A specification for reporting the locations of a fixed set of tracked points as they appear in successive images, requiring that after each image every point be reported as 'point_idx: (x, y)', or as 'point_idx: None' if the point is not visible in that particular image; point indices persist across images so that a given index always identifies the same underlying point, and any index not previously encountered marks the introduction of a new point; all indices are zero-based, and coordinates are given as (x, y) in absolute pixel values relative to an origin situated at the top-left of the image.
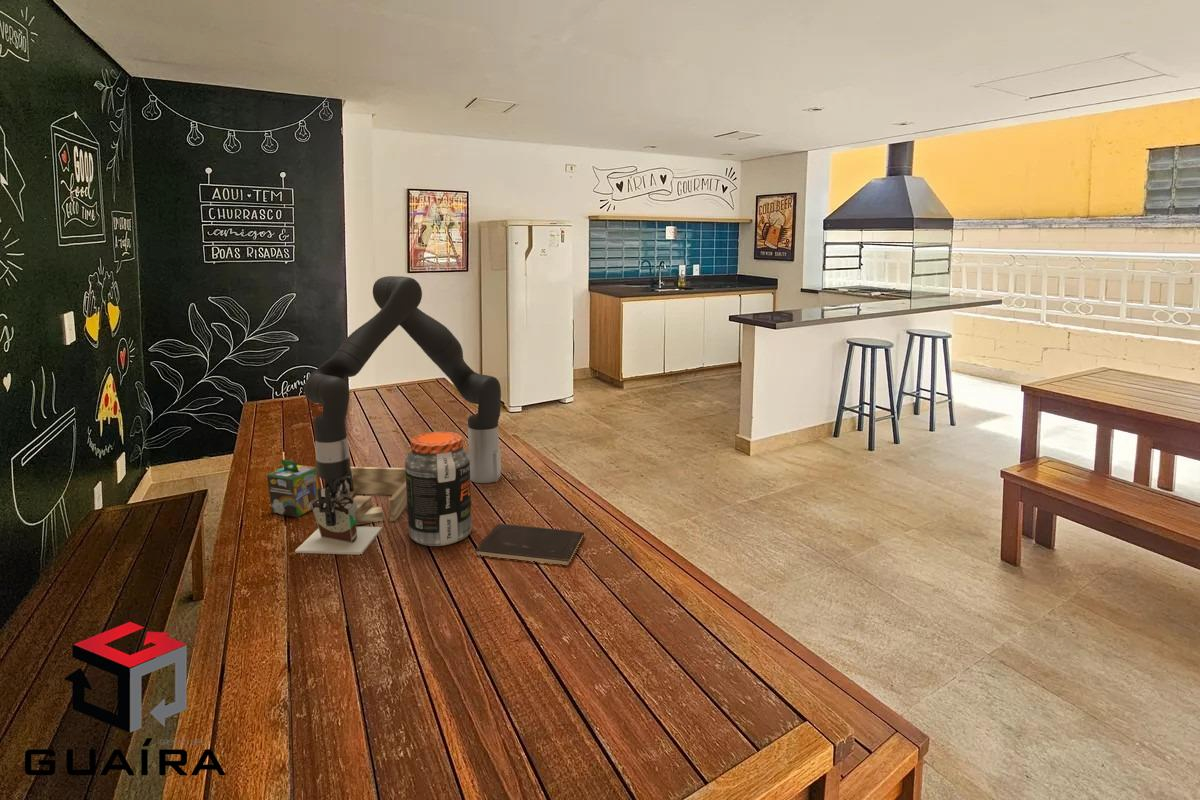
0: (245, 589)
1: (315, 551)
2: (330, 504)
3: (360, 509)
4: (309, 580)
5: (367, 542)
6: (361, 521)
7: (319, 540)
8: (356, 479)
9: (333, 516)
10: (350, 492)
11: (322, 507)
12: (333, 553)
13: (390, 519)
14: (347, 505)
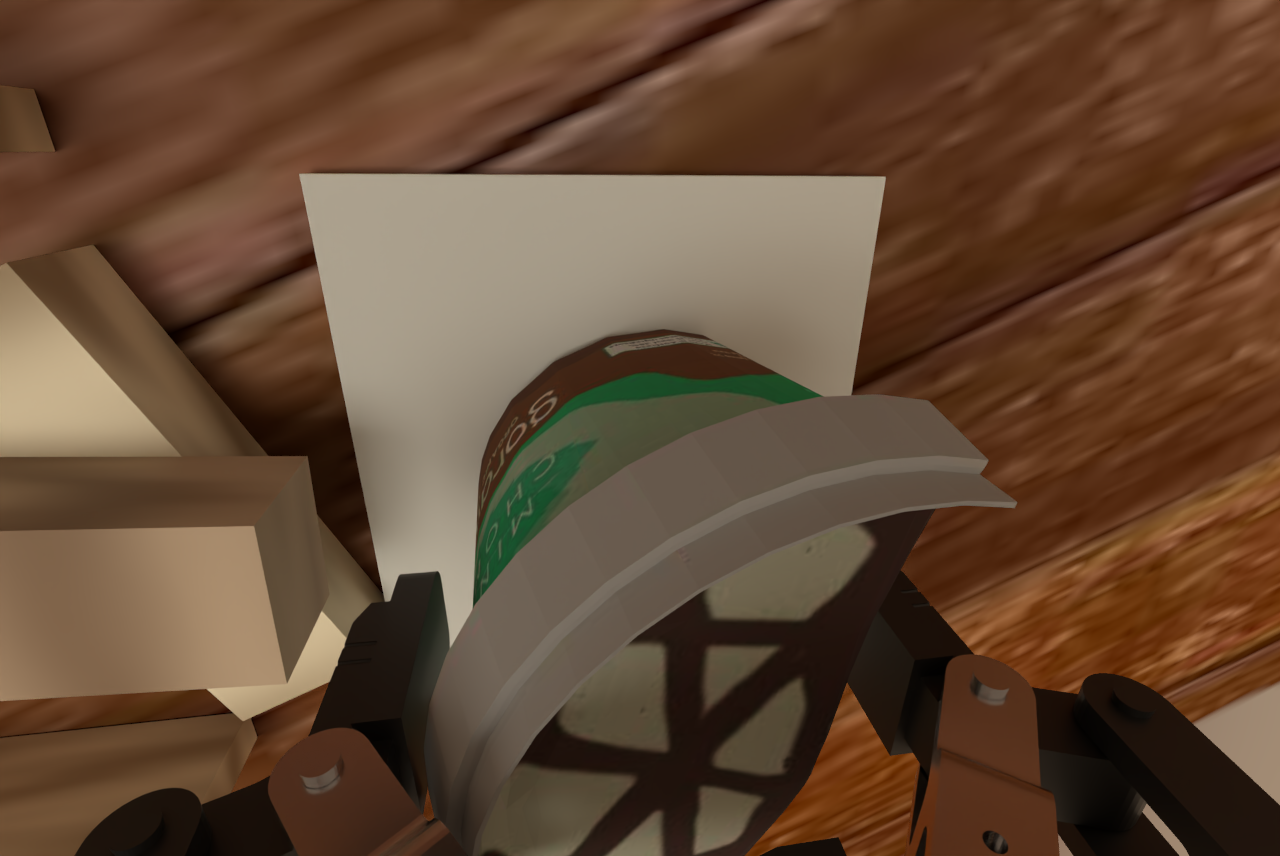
0: (1174, 650)
1: None
2: (1205, 793)
3: (204, 503)
4: (1186, 393)
5: (684, 195)
6: (235, 444)
7: None
8: None
9: (914, 617)
10: (274, 794)
11: (1115, 830)
12: None
13: (38, 149)
14: (768, 591)
